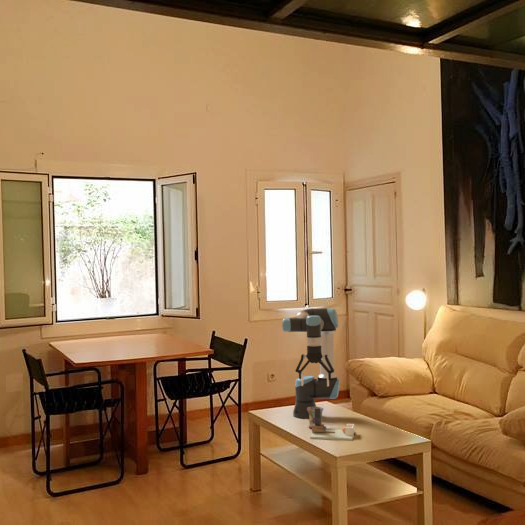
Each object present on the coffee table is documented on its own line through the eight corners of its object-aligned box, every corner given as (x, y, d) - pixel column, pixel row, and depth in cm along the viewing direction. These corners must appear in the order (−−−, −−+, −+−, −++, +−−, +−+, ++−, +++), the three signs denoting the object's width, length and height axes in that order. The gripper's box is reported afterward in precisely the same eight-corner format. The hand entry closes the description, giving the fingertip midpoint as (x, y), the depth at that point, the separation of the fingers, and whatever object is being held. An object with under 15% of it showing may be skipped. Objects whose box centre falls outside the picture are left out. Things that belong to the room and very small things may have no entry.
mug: (326, 428, 343) (326, 409, 343) (310, 430, 341) (310, 410, 341) (318, 423, 355) (317, 404, 355) (303, 424, 352) (302, 406, 352)
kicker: (313, 429, 335) (312, 407, 335) (326, 429, 334) (325, 407, 334) (311, 431, 330) (311, 409, 330) (325, 432, 329) (324, 409, 329)
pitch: (314, 430, 340) (314, 427, 340) (354, 431, 335) (354, 428, 335) (310, 438, 324) (310, 435, 324) (352, 440, 319) (352, 437, 319)
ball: (345, 424, 331) (350, 429, 330) (341, 429, 331) (345, 433, 331) (345, 426, 327) (349, 431, 327) (340, 430, 328) (345, 435, 327)
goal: (346, 431, 333) (346, 423, 333) (354, 431, 332) (354, 424, 332) (345, 435, 325) (345, 427, 325) (353, 435, 324) (352, 428, 324)
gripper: (289, 346, 323) (290, 386, 323) (337, 346, 317) (338, 387, 317) (291, 344, 330) (292, 383, 330) (338, 344, 325) (339, 384, 324)
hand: (315, 385), depth 324 cm, fingers open, 13 cm apart
